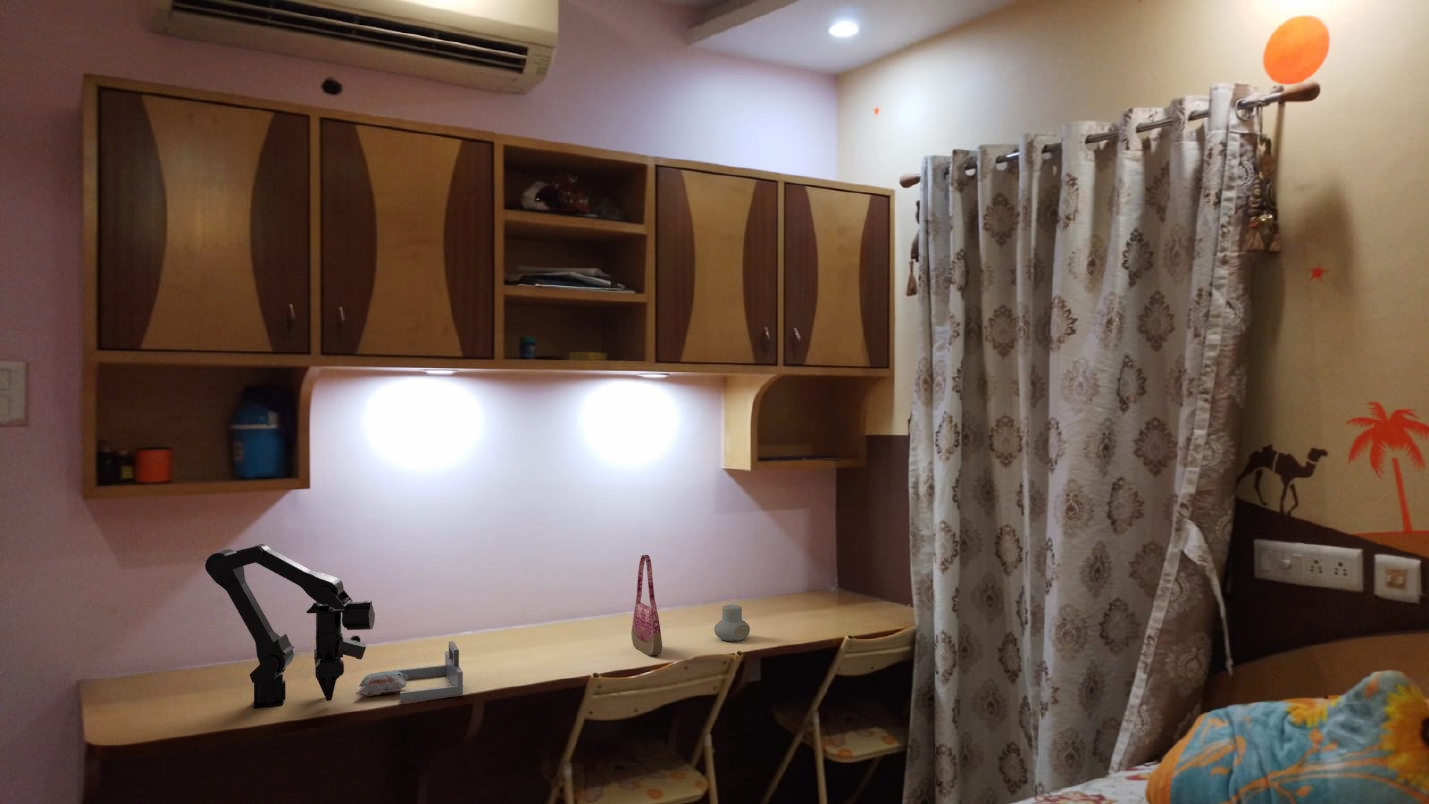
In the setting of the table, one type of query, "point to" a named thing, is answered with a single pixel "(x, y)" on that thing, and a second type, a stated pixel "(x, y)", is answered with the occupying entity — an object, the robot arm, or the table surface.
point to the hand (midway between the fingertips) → (328, 695)
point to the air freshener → (732, 624)
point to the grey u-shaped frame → (448, 669)
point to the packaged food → (382, 683)
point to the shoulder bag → (646, 616)
